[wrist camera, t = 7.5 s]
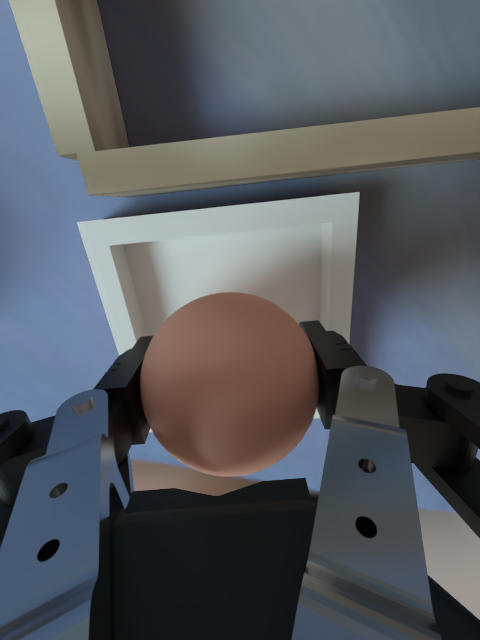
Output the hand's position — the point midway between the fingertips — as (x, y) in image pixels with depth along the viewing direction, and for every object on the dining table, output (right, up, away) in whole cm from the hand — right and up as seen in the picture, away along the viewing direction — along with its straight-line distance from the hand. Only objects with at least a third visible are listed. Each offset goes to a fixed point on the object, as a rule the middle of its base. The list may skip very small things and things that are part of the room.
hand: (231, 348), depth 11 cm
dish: (0, +1, +3) cm, 4 cm away
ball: (0, 0, +1) cm, 1 cm away
